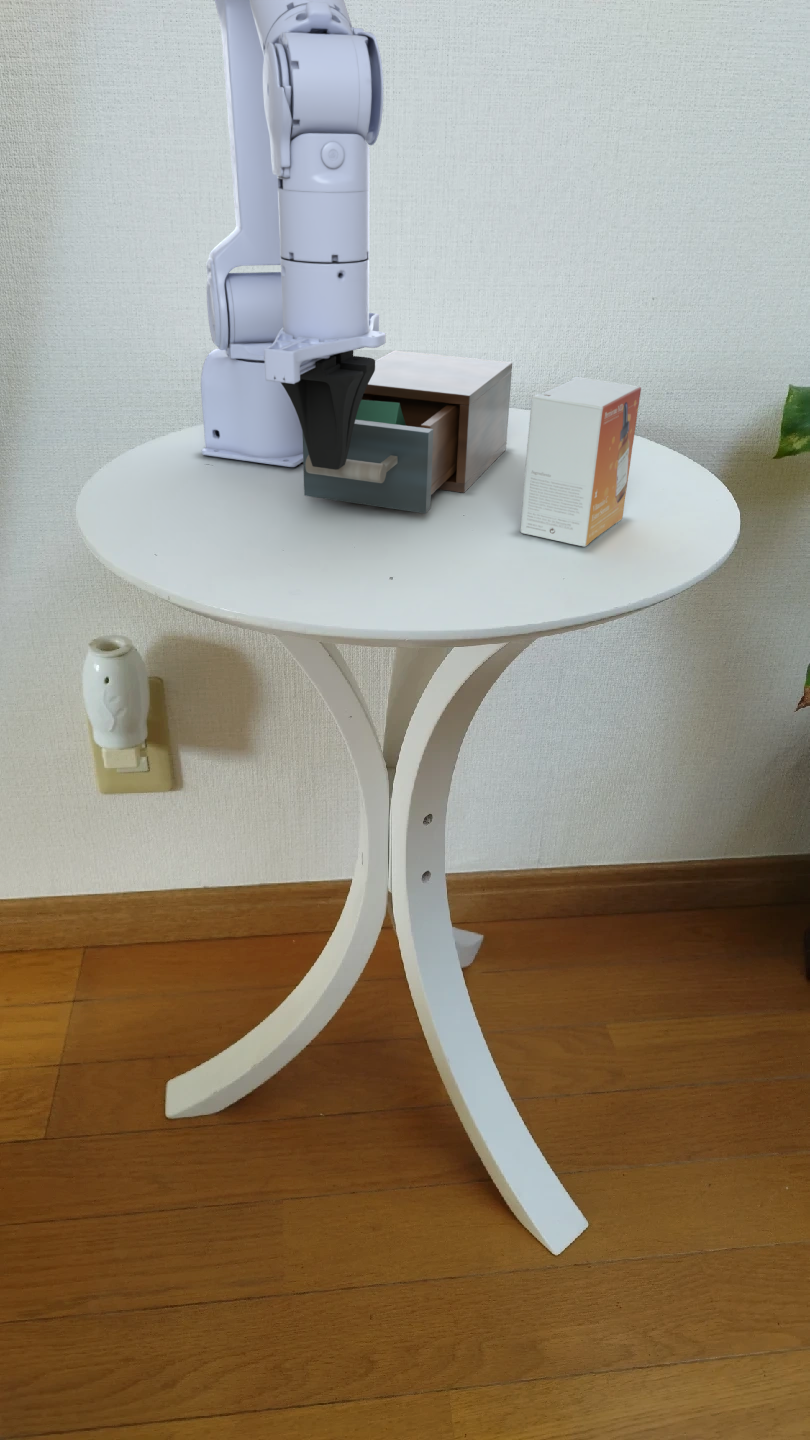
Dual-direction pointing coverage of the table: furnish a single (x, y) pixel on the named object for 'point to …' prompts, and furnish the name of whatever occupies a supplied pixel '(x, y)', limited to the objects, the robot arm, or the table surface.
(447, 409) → the drawer
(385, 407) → the green cube
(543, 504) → the small box
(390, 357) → the cabinet
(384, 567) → the table surface
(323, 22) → the robot arm
